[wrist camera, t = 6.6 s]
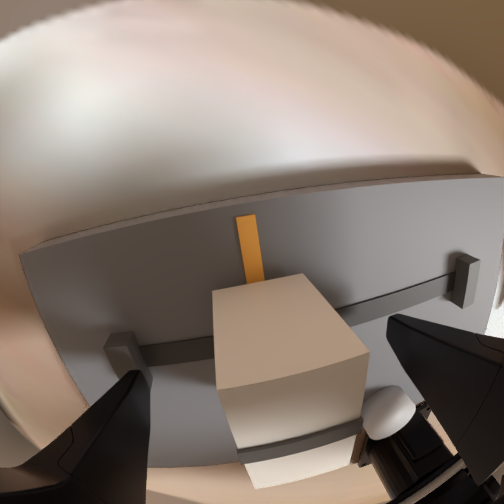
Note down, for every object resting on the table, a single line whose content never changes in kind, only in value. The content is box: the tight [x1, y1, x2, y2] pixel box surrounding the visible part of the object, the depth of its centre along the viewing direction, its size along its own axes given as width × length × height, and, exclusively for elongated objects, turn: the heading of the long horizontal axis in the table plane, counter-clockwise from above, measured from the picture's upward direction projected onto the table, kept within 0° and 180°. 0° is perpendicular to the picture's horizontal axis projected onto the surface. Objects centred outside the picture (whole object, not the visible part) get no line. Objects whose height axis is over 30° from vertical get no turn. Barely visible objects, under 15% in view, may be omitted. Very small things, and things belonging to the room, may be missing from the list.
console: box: [19, 174, 504, 468], centre depth 11 cm, size 24×14×4 cm, turn 99°
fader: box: [212, 273, 370, 489], centre depth 8 cm, size 3×5×5 cm, turn 9°
